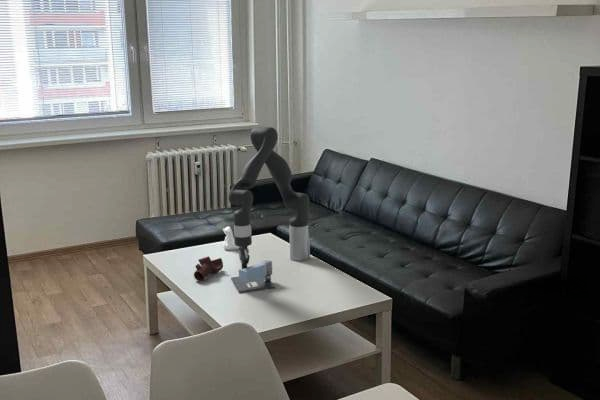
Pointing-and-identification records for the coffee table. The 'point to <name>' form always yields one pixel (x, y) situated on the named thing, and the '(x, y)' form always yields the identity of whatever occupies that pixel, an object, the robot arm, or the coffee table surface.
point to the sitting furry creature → (229, 240)
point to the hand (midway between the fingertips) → (244, 271)
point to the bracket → (207, 268)
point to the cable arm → (255, 271)
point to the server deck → (253, 284)
